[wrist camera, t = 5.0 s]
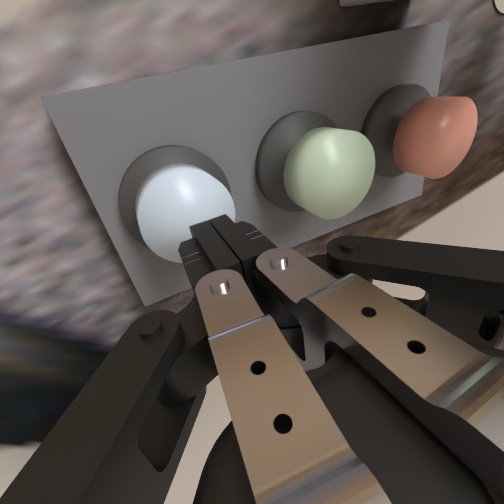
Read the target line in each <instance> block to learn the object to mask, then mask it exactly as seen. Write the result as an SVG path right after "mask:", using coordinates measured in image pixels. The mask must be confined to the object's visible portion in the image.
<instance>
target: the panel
mask: <svg viewBox="0 0 504 504" xmlns="http://www.w3.org/2000/svg"><path fill="white" fill-rule="evenodd" d="M449 21H450V20H446V21H441V22H436V23H430V24H425V25H420V26H415V27H409V28H404V29H399V30H393V31H388V32H383V33H377V34H372V35H367V36H362V37H356V38H351V39H346V40H340V41H335V42H330V43H324V44H319V45H314V46H308V47H303V48H298V49H293V50H287V51H282V52H277V53H271V54H266V55H261V56H255V57H250V58H245V59H240V60H234V61H229V62H224V63H218V64H213V65H208V66H202V67H197V68H192V69H187V70H181V71H176V72H171V73H165V74H160V75H155V76H149V77H144V78H139V79H133V80H128V81H123V82H118V83H112V84H107V85H102V86H96V87H91V88H86V89H80V90H75V91H70V92H65V93H59V94H54V95H49V96H43V97H40V98H41V100H42V102H43V104H44V106H45V108H46V110H47V112H48V114H49V116H50V118H51V120H52V122H53V124H54V126H55V128H56V130H57V132H58V134H59V136H60V138H61V140H62V142H63V144H64V146H65V148H66V150H67V152H68V154H69V156H70V158H71V160H72V162H73V164H74V166H75V168H76V170H77V172H78V174H79V176H80V178H81V180H82V182H83V184H84V186H85V188H86V190H87V192H88V194H89V196H90V198H91V200H92V202H93V204H94V206H95V208H96V210H97V212H98V214H99V216H100V218H101V220H102V222H103V224H104V226H105V228H106V230H107V232H108V234H109V236H110V238H111V240H112V242H113V244H114V246H115V248H116V250H117V252H118V254H119V256H120V258H121V260H122V262H123V264H124V266H125V268H126V270H127V272H128V274H129V276H130V278H131V280H132V282H133V284H134V286H135V288H136V290H137V292H138V294H139V296H140V298H141V300H142V302H143V304H144V306H145V307H146V306H148V305H151V304H153V303H156V302H158V301H161V300H163V299H166V298H168V297H171V296H173V295H175V294H178V293H180V292H183V291H185V290H188V289H190V288H192V286H191V284H190V282H189V279H188V276H187V274H186V271H185V268H184V265H183V263H177V262H172V261H169V260H166V259H164V258H162V257H160V256H158V255H157V254H155V253H154V252H153V251H152V250H151V249H150V248H149V247H148V246H147V244H146V243H145V241H144V239H143V237H142V235H141V232H140V228H139V225H138V221H137V217H136V212H135V199H136V195H137V192H138V189H139V187H140V185H141V184H142V182H143V181H144V180H145V178H146V177H147V176H148V175H149V174H150V173H152V172H153V171H155V170H156V169H158V168H160V167H162V166H165V165H168V164H173V163H187V164H192V165H194V166H197V167H199V168H201V169H203V170H204V171H206V172H207V173H209V174H210V175H211V176H213V177H214V178H215V179H217V180H218V181H219V182H221V183H222V184H223V185H224V186H225V188H226V189H227V190H228V192H229V193H230V195H231V197H232V199H233V203H234V207H235V223H237V222H240V221H244V222H247V223H250V224H252V225H253V226H255V227H256V228H257V229H258V231H260V232H261V233H262V234H263V235H265V236H266V237H267V238H268V239H269V240H270V241H271V242H272V243H273V244H275V245H276V246H277V247H278V248H292V247H294V246H296V245H299V244H301V243H304V242H306V241H309V240H311V239H314V238H316V237H319V236H321V235H324V234H326V233H329V232H331V231H333V230H336V229H338V228H341V227H343V226H346V225H348V224H351V223H353V222H356V221H358V220H361V219H363V218H366V217H368V216H371V215H373V214H375V213H378V212H380V211H383V210H385V209H388V208H390V207H393V206H395V205H398V204H400V203H403V202H405V201H408V200H410V199H413V198H415V197H417V196H420V195H422V190H423V183H424V176H420V175H416V174H412V173H408V172H405V171H402V170H401V169H399V168H398V166H397V165H396V163H395V160H394V156H393V144H394V138H395V134H396V131H397V128H398V126H399V124H400V122H401V120H402V118H403V116H404V115H405V113H406V112H407V111H408V110H409V108H410V107H411V106H412V105H413V104H414V103H416V102H417V101H419V100H420V99H422V98H425V97H437V96H438V90H439V83H440V77H441V71H442V64H443V58H444V52H445V46H446V39H447V33H448V27H449ZM319 127H329V128H337V129H344V130H351V131H356V132H359V133H361V134H363V135H364V136H365V137H366V138H367V139H368V140H369V141H370V143H371V145H372V147H373V150H374V154H375V172H374V177H373V180H372V183H371V186H370V188H369V190H368V192H367V194H366V195H365V197H364V198H363V200H362V201H361V202H360V203H359V205H358V206H357V207H356V208H355V209H354V210H352V211H351V212H350V213H348V214H346V215H345V216H342V217H340V218H337V219H323V218H320V217H318V216H316V215H314V214H312V213H311V212H309V211H307V210H305V209H304V208H302V207H300V206H298V205H296V204H295V203H294V202H293V201H292V200H291V199H290V198H289V196H288V194H287V192H286V189H285V186H284V177H283V175H284V167H285V163H286V159H287V157H288V154H289V152H290V150H291V148H292V147H293V146H294V144H295V143H296V142H297V140H298V139H299V138H300V137H301V136H303V135H304V134H305V133H307V132H308V131H310V130H312V129H315V128H319Z"/></svg>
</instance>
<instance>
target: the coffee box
mask: <svg viewBox="0 0 504 504" xmlns="http://www.w3.org/2000/svg"><path fill="white" fill-rule="evenodd" d="M339 1H340V6H341V7H348V6H356V5H363V4H370V3H378V2H386V1H393V0H339Z"/></svg>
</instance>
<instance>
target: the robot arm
mask: <svg viewBox="0 0 504 504" xmlns="http://www.w3.org/2000/svg"><path fill="white" fill-rule="evenodd" d="M189 229H190V232H191V235H192V239H189V240H186V241H183V242H181V243H180V246H179V249H178V252H179V254H180V257H181V260H182V263H183V265H184V268H185V271H186V274H187V276H188V279H189V282H190V284H191V286H192V289H193V291H194V293H195V295H194V297H193V299H192V301H191V302H190V303H189V304H188V305H187V306H186V307H185V308H184V309H182V310H181V311H180V312H178V313H177V314H175V313H173V312H171V311H167V310H158V311H153V312H150V313H148V314H145V315H143V316H142V317H140V318H138V319H137V320H136V321H134V322H133V323H132V324H131V325H130V327H129V328H128V329H127V330H126V332H125V333H124V334H123V336H122V337H121V338H120V340H119V341H118V342H117V344H116V345H115V346H114V348H113V349H112V350H111V352H110V353H109V354H108V356H107V357H106V358H105V360H104V361H103V362H102V363H101V365H100V366H99V367H98V369H97V370H96V371H95V373H94V374H93V375H92V377H91V378H90V379H89V381H88V382H87V383H86V385H85V386H84V387H83V389H82V390H81V391H80V393H79V394H78V395H77V397H76V398H75V399H74V401H73V402H72V403H71V405H70V406H69V407H68V409H67V410H66V411H65V413H64V414H63V415H62V417H61V418H60V419H59V421H58V422H57V423H56V425H55V426H54V427H53V429H52V430H51V431H50V433H49V434H48V435H47V437H46V438H45V439H44V440H43V442H42V443H41V444H40V446H39V447H38V448H37V450H36V451H35V452H34V454H33V455H32V456H31V458H30V459H29V460H28V462H27V463H26V464H25V466H24V467H23V468H22V470H21V471H20V472H19V474H18V475H17V476H16V478H15V479H14V481H13V482H12V483H11V484H10V486H9V487H8V488H7V490H6V491H5V492H4V494H3V495H2V497H1V498H0V504H164V501H165V499H166V496H167V493H168V491H169V488H170V486H171V483H172V480H173V478H174V475H175V473H176V470H177V467H178V465H179V462H180V460H181V457H182V454H183V452H184V449H185V447H186V444H187V442H188V439H189V436H190V434H191V431H192V428H193V426H194V423H195V421H196V418H197V416H198V413H199V410H200V408H201V405H202V403H203V400H204V397H205V394H206V385H207V384H208V383H209V382H210V381H212V380H213V379H214V378H215V377H216V376H217V375H218V374H219V378H220V381H221V385H222V388H223V391H224V394H225V398H226V401H227V405H228V409H229V412H230V415H231V419H232V421H231V422H230V423H229V425H228V426H227V427H226V428H225V429H224V431H223V432H222V434H221V435H220V436H219V438H218V439H217V440H216V442H215V444H214V446H213V448H212V450H211V451H210V453H209V456H208V458H207V460H206V463H205V465H204V468H203V471H202V474H201V477H200V480H199V484H198V487H197V491H196V494H195V498H194V501H193V504H504V251H497V250H488V249H479V248H469V247H459V246H450V245H439V244H429V243H420V242H411V241H401V240H391V239H382V238H372V237H362V236H341V237H338V238H335V239H333V240H331V241H330V242H329V243H328V244H327V254H323V255H317V256H312V257H304V256H303V255H301V254H300V253H299V252H297V251H295V250H293V249H290V248H278V247H277V246H276V245H275V244H273V243H272V242H271V241H270V240H269V239H268V238H267V237H266V236H265V235H263V234H262V233H261V232H260V231H258V229H257V228H256V227H255V226H253V225H252V224H250V223H247V222H244V221H240V222H237V223H234V222H233V221H232V220H231V219H230V218H229V217H228V216H227V215H226V214H224V215H221V216H218V217H215V218H212V219H209V220H208V221H207V220H206V221H203V222H200V223H197V224H194V225H191V226H189ZM373 279H374V280H380V281H386V282H392V283H398V284H404V285H410V286H416V287H420V288H422V289H423V290H425V291H426V292H425V296H424V297H423V298H422V299H420V300H407V299H402V298H397V297H392V296H391V295H389V294H388V293H386V292H384V291H383V290H381V289H379V288H378V287H376V286H375V285H373V284H372V281H373ZM263 314H264V315H263Z"/></svg>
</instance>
